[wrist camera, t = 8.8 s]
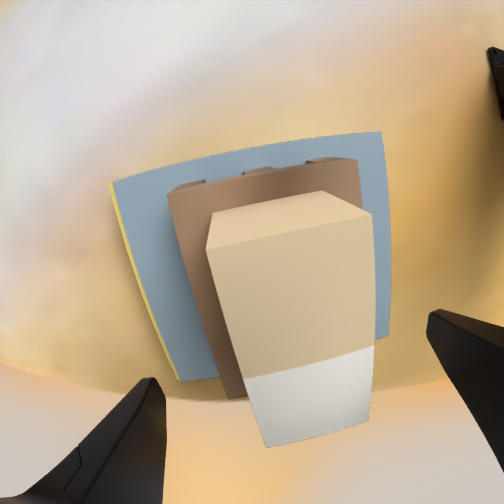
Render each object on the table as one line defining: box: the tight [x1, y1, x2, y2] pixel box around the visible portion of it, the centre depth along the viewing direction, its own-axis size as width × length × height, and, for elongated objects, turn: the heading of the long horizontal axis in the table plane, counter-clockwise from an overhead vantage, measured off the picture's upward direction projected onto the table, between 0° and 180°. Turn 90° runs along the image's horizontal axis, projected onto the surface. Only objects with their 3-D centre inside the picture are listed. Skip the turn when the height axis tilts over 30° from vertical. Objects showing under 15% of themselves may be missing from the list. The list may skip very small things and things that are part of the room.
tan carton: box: [206, 191, 376, 379], centre depth 9 cm, size 4×4×4 cm
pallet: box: [167, 157, 363, 399], centre depth 13 cm, size 7×10×3 cm
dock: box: [108, 132, 391, 382], centre depth 16 cm, size 13×12×3 cm
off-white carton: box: [243, 346, 374, 448], centre depth 11 cm, size 4×4×4 cm
